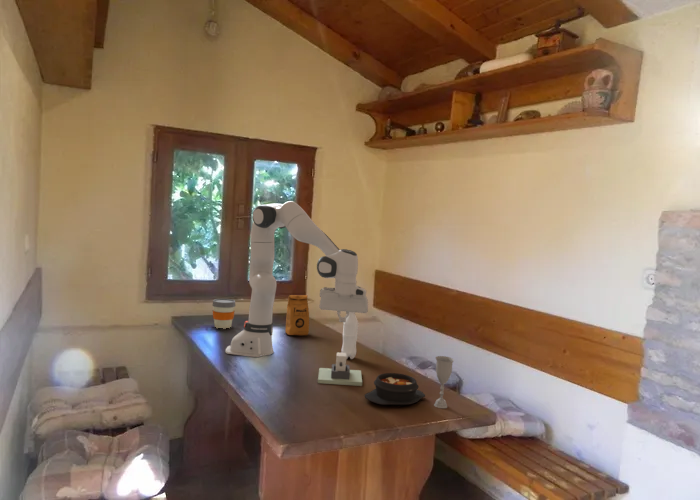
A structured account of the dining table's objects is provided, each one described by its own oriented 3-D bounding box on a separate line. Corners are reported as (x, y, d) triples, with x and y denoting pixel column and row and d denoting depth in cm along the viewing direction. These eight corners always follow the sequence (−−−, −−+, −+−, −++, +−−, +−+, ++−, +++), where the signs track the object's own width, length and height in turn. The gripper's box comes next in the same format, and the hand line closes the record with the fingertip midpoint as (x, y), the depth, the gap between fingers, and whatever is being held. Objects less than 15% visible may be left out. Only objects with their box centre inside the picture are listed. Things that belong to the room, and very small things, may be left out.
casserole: (384, 414, 191) (386, 391, 190) (353, 397, 206) (355, 375, 205) (435, 403, 206) (437, 381, 205) (403, 388, 221) (405, 368, 220)
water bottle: (354, 360, 255) (358, 308, 253) (339, 358, 257) (343, 306, 255) (357, 356, 262) (360, 305, 260) (342, 355, 264) (346, 304, 262)
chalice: (429, 401, 207) (433, 355, 205) (447, 402, 207) (451, 356, 206) (434, 409, 199) (438, 361, 198) (452, 409, 200) (456, 362, 199)
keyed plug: (335, 379, 221) (336, 357, 220) (335, 372, 230) (336, 351, 229) (344, 379, 221) (346, 358, 220) (344, 373, 230) (346, 352, 229)
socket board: (317, 383, 219) (318, 372, 219) (319, 371, 235) (319, 361, 235) (362, 385, 220) (362, 375, 219) (360, 373, 236) (361, 363, 235)
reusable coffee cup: (209, 324, 307) (210, 298, 306) (231, 324, 312) (232, 298, 311) (213, 330, 295) (215, 302, 294) (236, 329, 301) (237, 302, 300)
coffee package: (309, 336, 296) (312, 296, 294) (287, 336, 292) (289, 296, 290) (305, 332, 305) (308, 293, 304) (284, 332, 301) (286, 293, 300)
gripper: (319, 287, 221) (317, 321, 222) (369, 292, 221) (366, 325, 222) (320, 285, 227) (317, 318, 228) (369, 289, 228) (366, 322, 229)
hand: (342, 321), depth 225 cm, fingers closed
